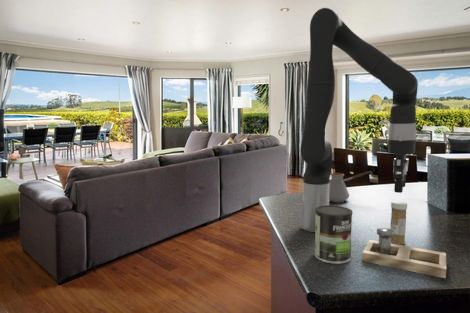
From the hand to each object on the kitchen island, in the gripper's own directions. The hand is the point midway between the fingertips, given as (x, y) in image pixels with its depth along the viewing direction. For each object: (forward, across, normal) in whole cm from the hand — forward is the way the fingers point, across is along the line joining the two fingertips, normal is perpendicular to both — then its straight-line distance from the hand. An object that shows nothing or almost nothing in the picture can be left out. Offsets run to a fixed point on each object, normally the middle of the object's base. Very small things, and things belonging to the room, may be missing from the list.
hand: (399, 189), depth 104 cm
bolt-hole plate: (+18, +14, +3) cm, 23 cm away
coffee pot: (+18, -44, -26) cm, 54 cm away
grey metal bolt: (+18, +14, -2) cm, 23 cm away
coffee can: (+18, +20, -15) cm, 31 cm away
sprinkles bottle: (+18, 0, 0) cm, 18 cm away
